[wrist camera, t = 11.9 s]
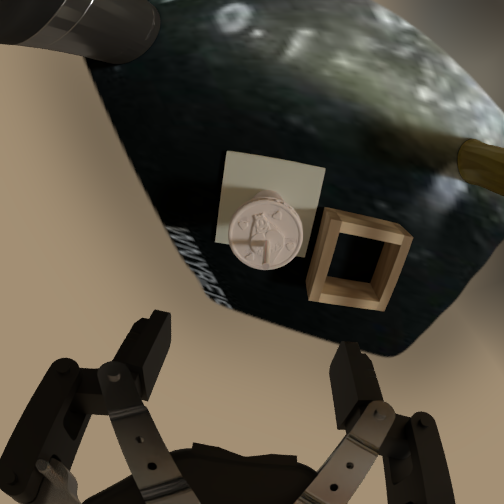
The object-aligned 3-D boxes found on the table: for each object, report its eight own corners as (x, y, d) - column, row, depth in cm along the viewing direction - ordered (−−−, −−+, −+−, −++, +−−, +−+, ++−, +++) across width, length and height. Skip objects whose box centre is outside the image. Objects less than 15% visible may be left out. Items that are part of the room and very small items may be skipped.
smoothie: (249, 238, 35) (235, 306, 23) (232, 187, 33) (205, 230, 20) (301, 224, 34) (317, 286, 21) (287, 171, 32) (296, 204, 19)
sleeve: (305, 281, 38) (308, 300, 34) (324, 207, 34) (331, 219, 30) (374, 292, 38) (384, 311, 34) (399, 223, 34) (413, 237, 30)
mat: (216, 240, 36) (215, 241, 36) (227, 150, 32) (226, 151, 31) (304, 255, 36) (304, 257, 36) (324, 168, 32) (325, 168, 31)
